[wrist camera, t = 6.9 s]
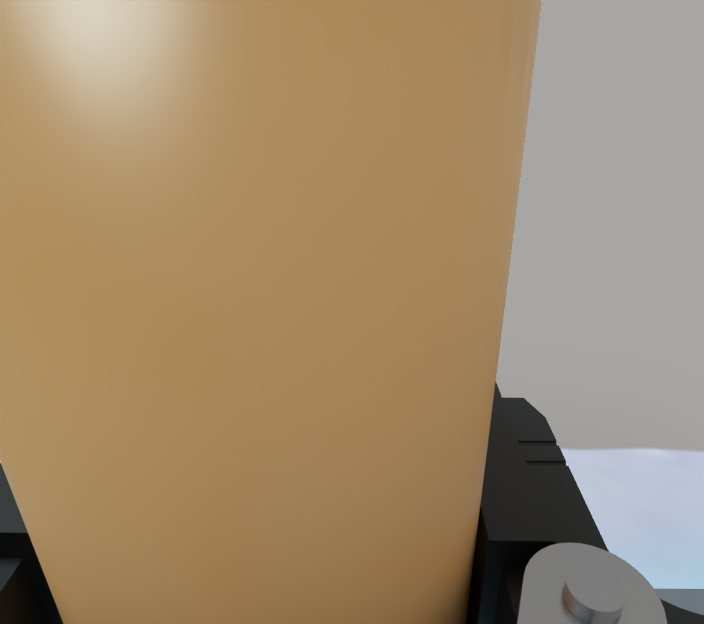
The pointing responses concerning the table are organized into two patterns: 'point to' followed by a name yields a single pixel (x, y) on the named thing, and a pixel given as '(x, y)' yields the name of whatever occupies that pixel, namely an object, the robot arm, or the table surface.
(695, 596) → the housing
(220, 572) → the cylinder
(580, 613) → the robot arm
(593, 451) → the table surface
